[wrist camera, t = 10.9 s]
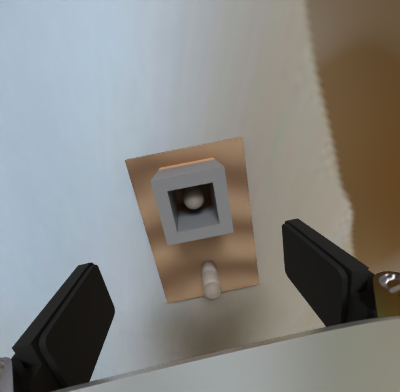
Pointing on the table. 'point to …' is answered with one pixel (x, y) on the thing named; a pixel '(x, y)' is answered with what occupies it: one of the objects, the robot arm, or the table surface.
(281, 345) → the robot arm
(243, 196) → the pin board
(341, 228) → the table surface
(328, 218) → the table surface
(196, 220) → the sleeve
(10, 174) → the table surface
